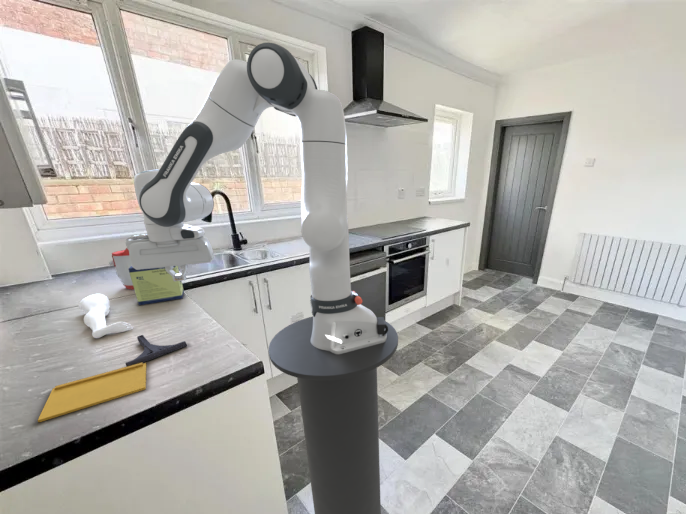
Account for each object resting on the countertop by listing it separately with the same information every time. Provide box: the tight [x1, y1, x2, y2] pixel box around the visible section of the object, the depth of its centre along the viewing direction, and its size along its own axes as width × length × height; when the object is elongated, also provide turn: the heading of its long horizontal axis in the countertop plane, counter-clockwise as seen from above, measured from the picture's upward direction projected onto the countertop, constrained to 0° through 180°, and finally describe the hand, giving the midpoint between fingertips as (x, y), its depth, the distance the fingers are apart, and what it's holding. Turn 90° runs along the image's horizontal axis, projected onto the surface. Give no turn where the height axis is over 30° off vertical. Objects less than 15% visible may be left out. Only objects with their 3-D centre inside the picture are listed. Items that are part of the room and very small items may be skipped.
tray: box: [37, 362, 147, 423], centre depth 73 cm, size 18×13×1 cm
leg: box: [77, 293, 134, 339], centre depth 110 cm, size 7×35×10 cm
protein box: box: [129, 266, 185, 306], centre depth 129 cm, size 10×16×16 cm
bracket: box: [125, 334, 188, 367], centre depth 91 cm, size 14×15×3 cm
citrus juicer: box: [108, 247, 135, 291], centre depth 144 cm, size 16×17×20 cm
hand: (180, 280), depth 90 cm, fingers closed
